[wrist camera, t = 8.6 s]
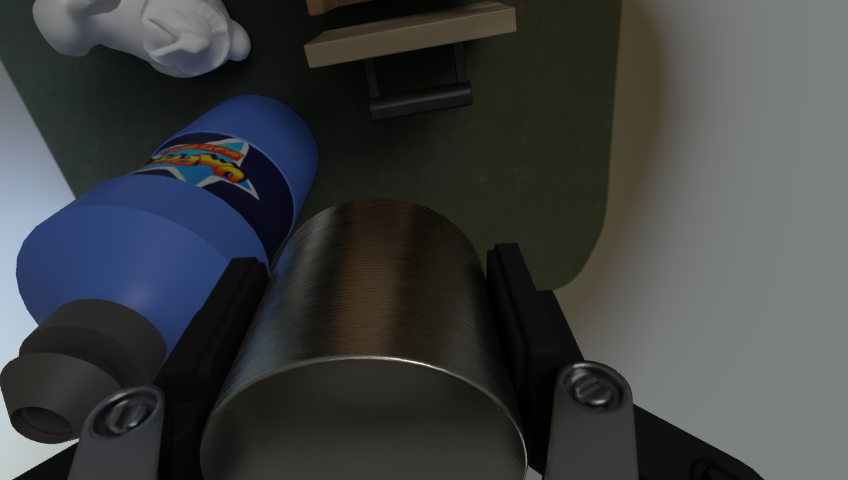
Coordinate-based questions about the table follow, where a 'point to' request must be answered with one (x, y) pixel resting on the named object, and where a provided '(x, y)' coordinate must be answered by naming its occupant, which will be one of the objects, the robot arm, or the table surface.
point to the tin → (370, 360)
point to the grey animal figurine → (147, 31)
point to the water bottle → (150, 258)
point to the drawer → (408, 37)
